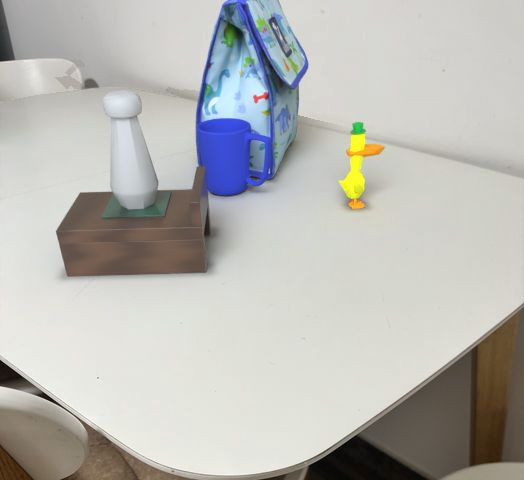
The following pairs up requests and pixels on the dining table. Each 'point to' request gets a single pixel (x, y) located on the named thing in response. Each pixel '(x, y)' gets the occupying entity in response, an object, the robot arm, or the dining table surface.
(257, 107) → the lunch bag
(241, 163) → the mug
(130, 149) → the salt shaker
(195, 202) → the toy bed
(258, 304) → the dining table surface
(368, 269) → the dining table surface
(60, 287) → the dining table surface
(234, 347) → the dining table surface
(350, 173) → the toy figure
